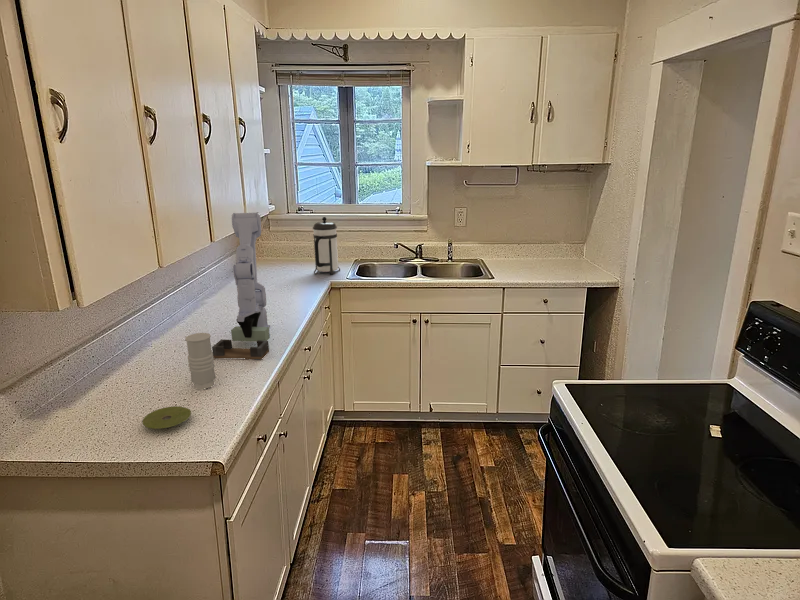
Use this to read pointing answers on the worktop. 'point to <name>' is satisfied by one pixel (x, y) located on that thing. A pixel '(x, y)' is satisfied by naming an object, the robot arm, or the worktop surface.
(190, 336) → the ribbed grey can
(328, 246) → the coffee press
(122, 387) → the worktop surface
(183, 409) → the olive green disc
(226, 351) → the end cap cradle
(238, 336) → the stone
